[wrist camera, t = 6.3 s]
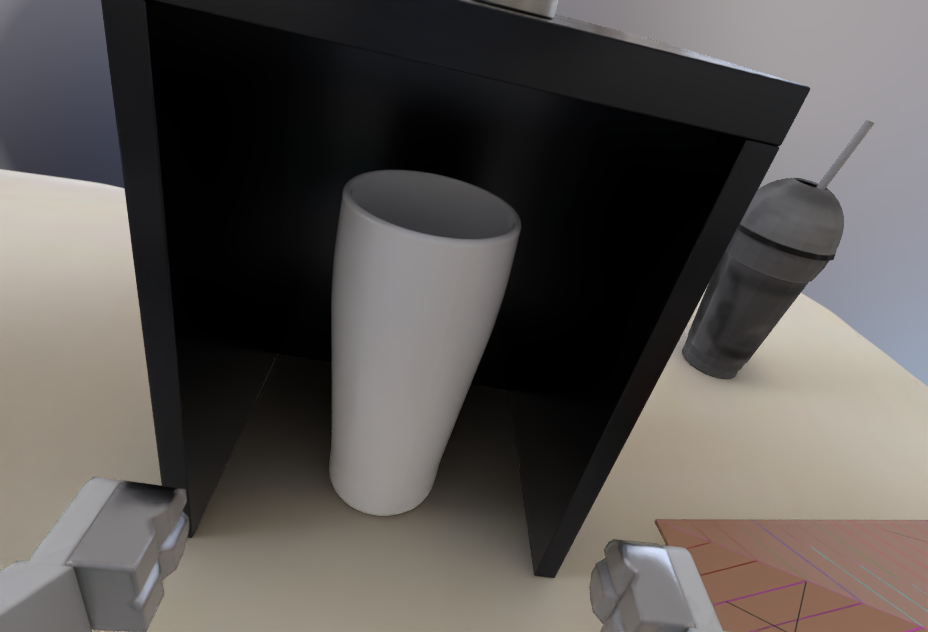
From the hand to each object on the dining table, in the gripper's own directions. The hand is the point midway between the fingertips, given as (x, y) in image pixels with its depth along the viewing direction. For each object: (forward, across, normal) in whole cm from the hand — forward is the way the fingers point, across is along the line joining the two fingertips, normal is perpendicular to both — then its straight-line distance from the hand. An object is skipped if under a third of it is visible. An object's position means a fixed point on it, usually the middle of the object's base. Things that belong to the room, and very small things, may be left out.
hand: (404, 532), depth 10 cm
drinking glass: (+12, 0, +13) cm, 18 cm away
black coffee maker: (+15, 0, +13) cm, 19 cm away
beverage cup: (+29, -25, +13) cm, 40 cm away
